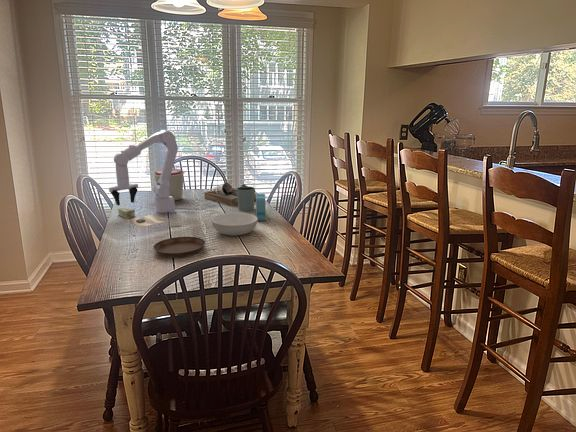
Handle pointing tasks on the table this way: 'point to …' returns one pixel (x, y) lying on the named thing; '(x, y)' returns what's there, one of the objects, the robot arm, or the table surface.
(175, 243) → the plant saucer
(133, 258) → the table surface
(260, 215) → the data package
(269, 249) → the table surface
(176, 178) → the canister
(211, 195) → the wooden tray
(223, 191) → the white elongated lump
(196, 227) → the table surface
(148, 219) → the board
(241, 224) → the serving bowl
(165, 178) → the robot arm
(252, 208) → the green lidded jar
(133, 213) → the block
